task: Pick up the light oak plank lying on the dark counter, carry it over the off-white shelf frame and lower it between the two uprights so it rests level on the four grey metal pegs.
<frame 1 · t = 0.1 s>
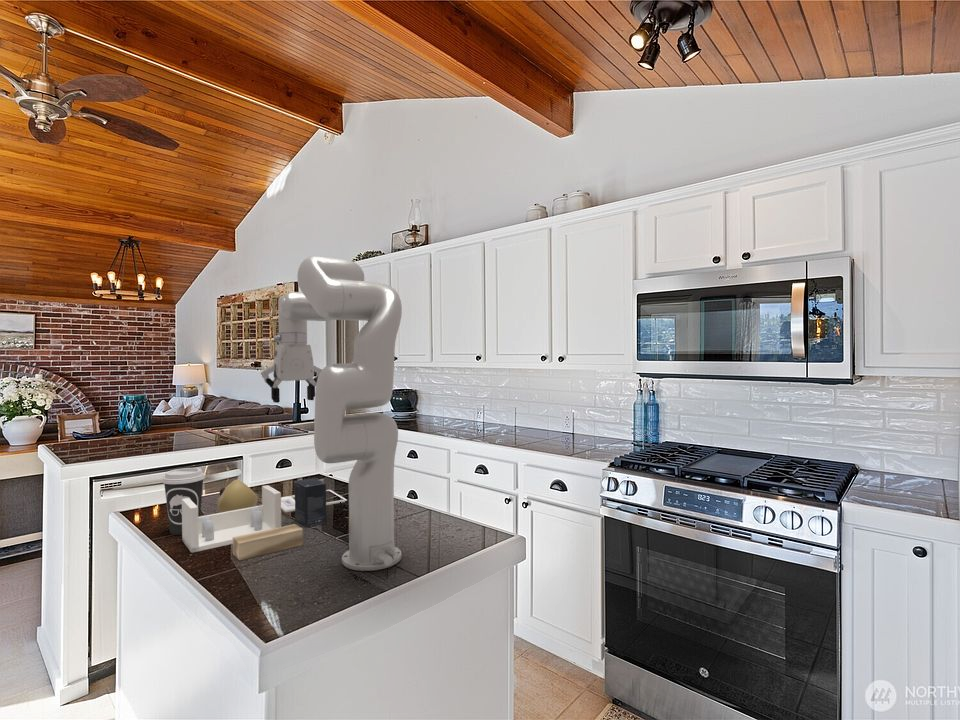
hand: (293, 401, 148), 31 cm above the counter, fingers open, 9 cm apart
tan rounded triangle: (237, 518, 144), on the counter
peg frame: (232, 536, 129), on the counter
oak board: (268, 550, 121), on the counter
coffee cup: (184, 531, 134), on the counter
box: (310, 522, 140), on the counter
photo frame: (309, 503, 160), on the counter
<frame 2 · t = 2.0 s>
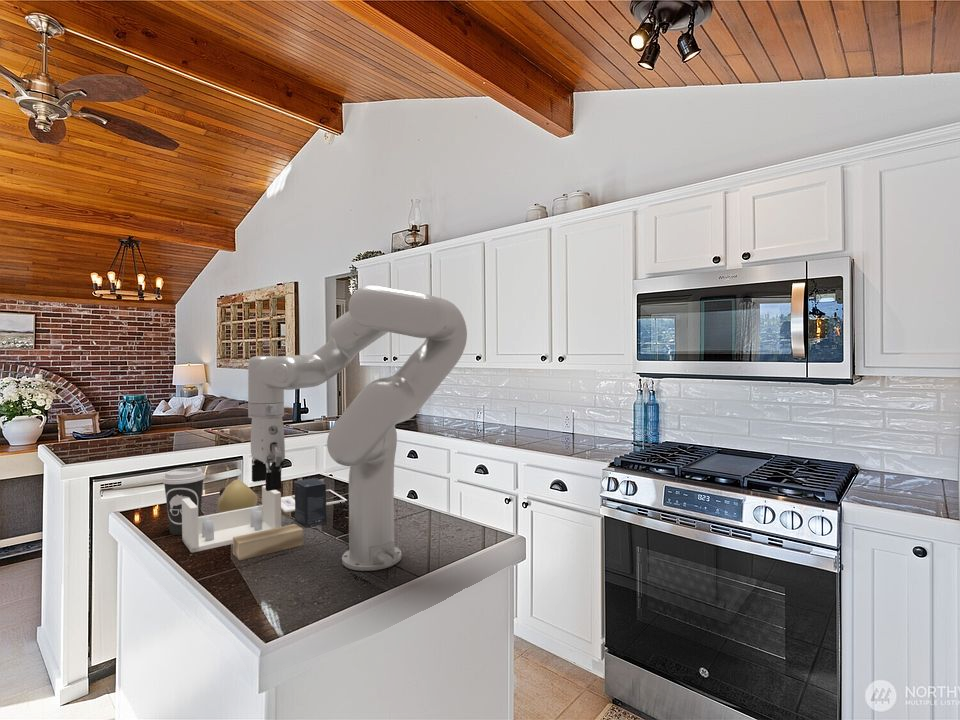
hand: (266, 485, 120), 15 cm above the counter, fingers open, 9 cm apart
nothing on the counter moved.
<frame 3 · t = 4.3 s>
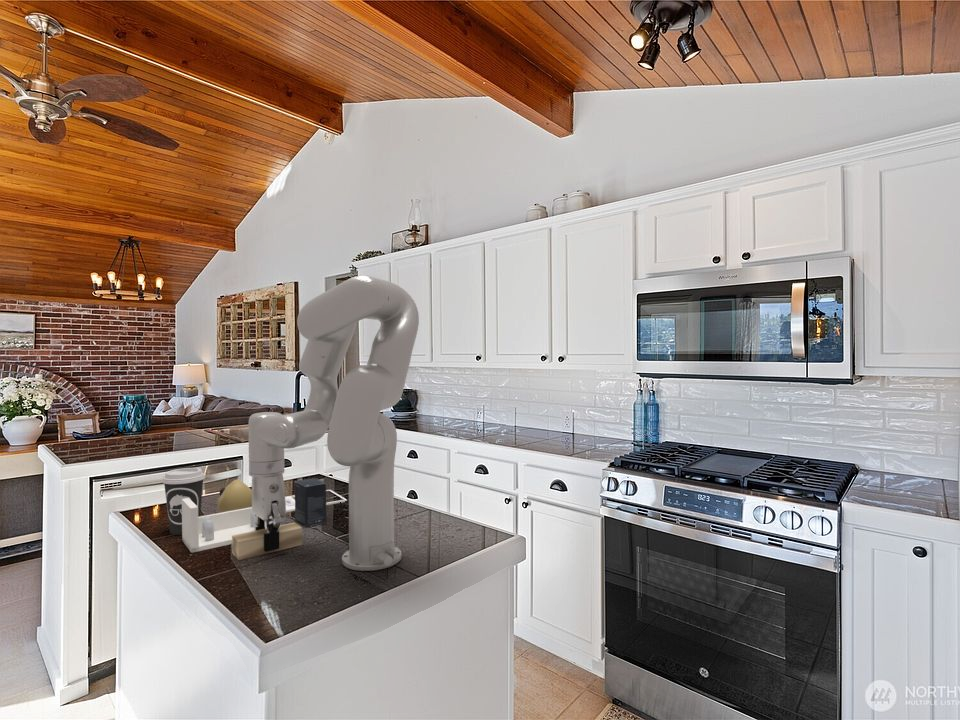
hand: (267, 545, 121), 1 cm above the counter, fingers closed on oak board, 5 cm apart
oak board: (268, 549, 121), on the counter, touching gripper
everything else where it was.
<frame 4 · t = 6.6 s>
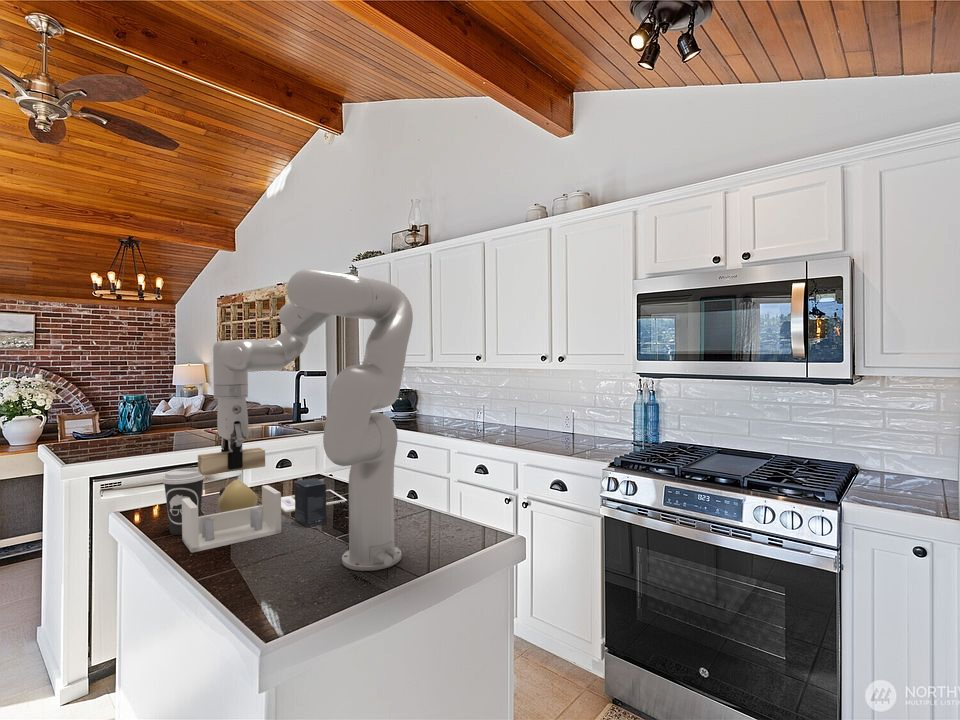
hand: (231, 465, 129), 17 cm above the counter, fingers closed on oak board, 5 cm apart
oak board: (232, 469, 129), point 17 cm above the counter, touching gripper
everything else where it was.
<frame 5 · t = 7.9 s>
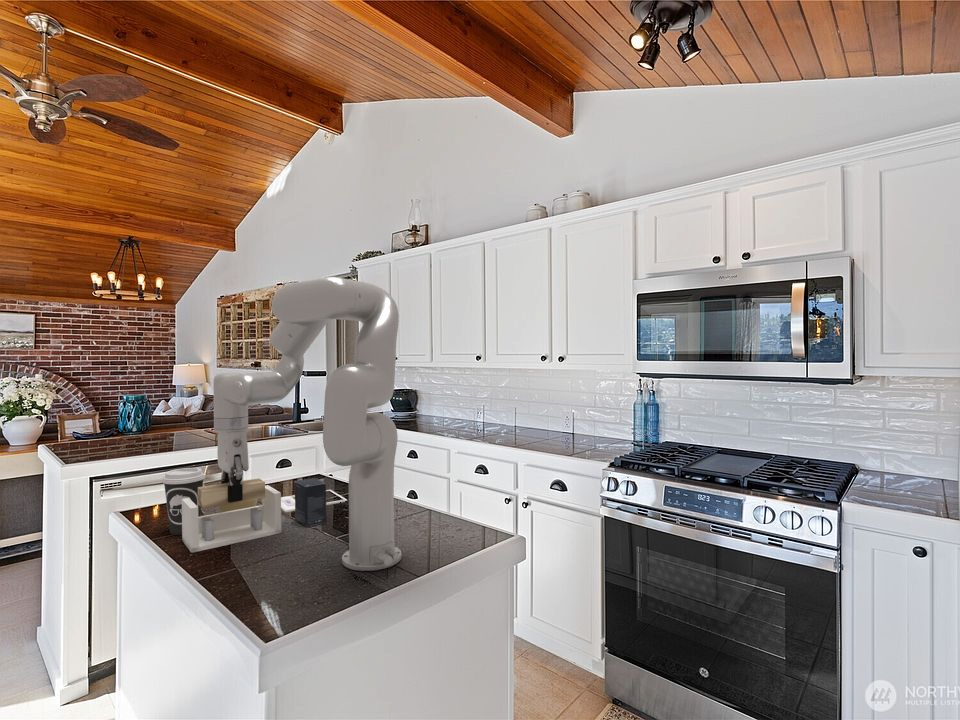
hand: (231, 497, 129), 9 cm above the counter, fingers closed on oak board, 5 cm apart
oak board: (232, 501, 129), point 9 cm above the counter, touching gripper
everything else where it was.
when the fingers open (8 cm above the counter, at t = 9.0 s): oak board drops 2 cm, resting on peg frame.
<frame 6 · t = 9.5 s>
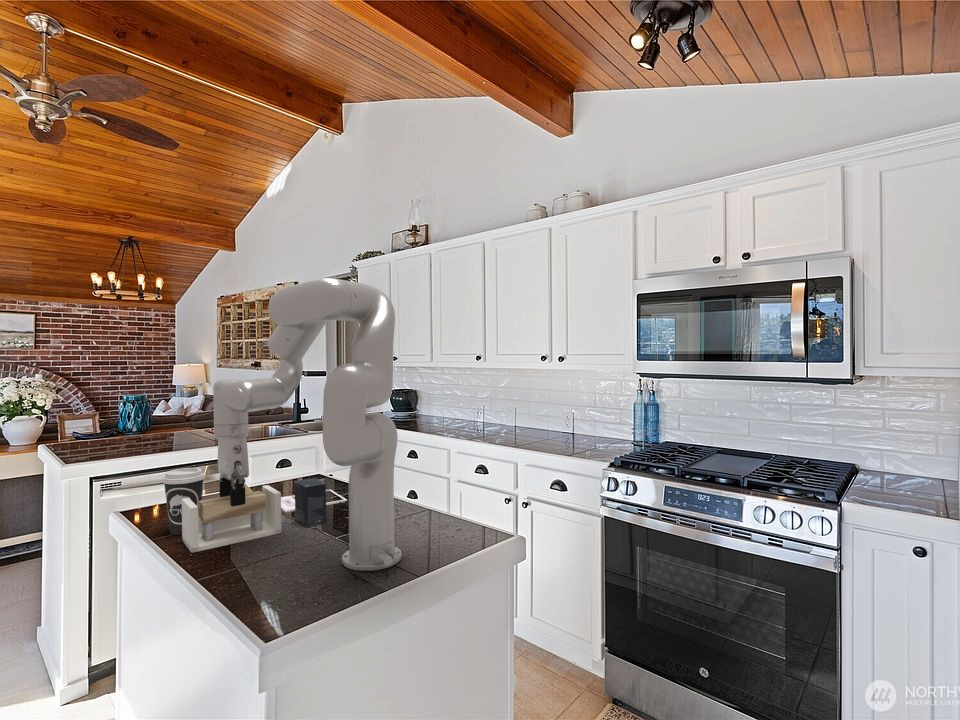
hand: (232, 500, 129), 9 cm above the counter, fingers open, 9 cm apart
oak board: (233, 514, 129), point 5 cm above the counter, touching peg frame
everything else where it was.
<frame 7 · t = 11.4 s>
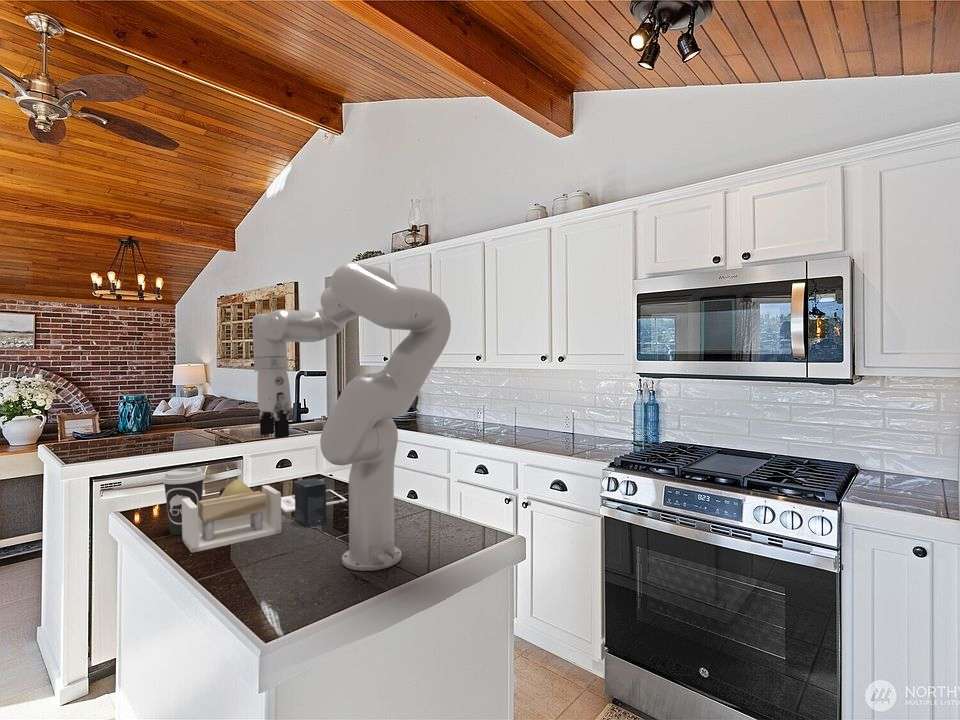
hand: (274, 435, 127), 25 cm above the counter, fingers open, 9 cm apart
nothing on the counter moved.
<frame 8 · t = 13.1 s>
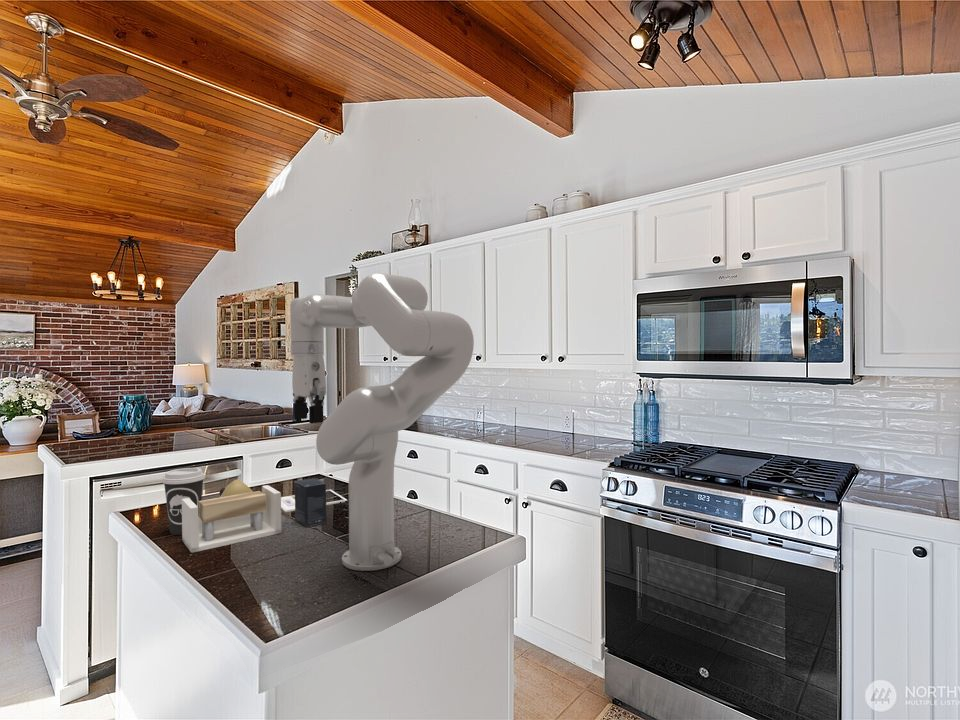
hand: (308, 420, 127), 28 cm above the counter, fingers open, 9 cm apart
nothing on the counter moved.
at the end: oak board 0.1 cm off-centre on the peg frame, point 5.5 cm above the peg frame's base; oak board tilted 0°; the gripper is holding nothing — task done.
